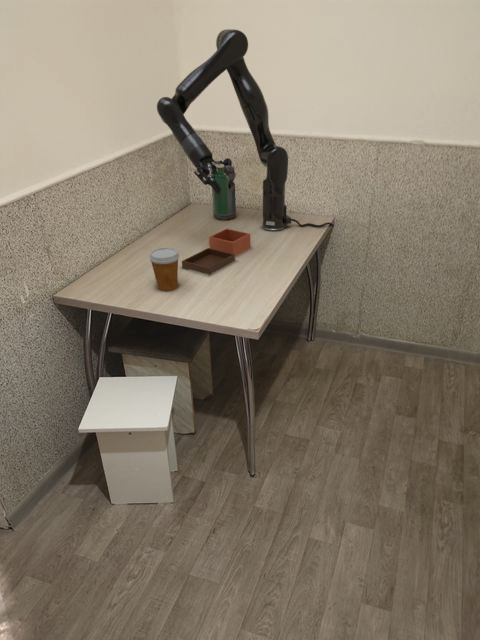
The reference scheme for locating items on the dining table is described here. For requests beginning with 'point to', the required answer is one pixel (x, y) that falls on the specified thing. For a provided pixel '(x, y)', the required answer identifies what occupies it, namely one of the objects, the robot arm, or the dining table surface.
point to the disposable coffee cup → (165, 267)
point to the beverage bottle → (232, 199)
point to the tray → (208, 261)
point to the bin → (230, 241)
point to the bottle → (223, 197)
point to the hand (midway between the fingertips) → (224, 189)
